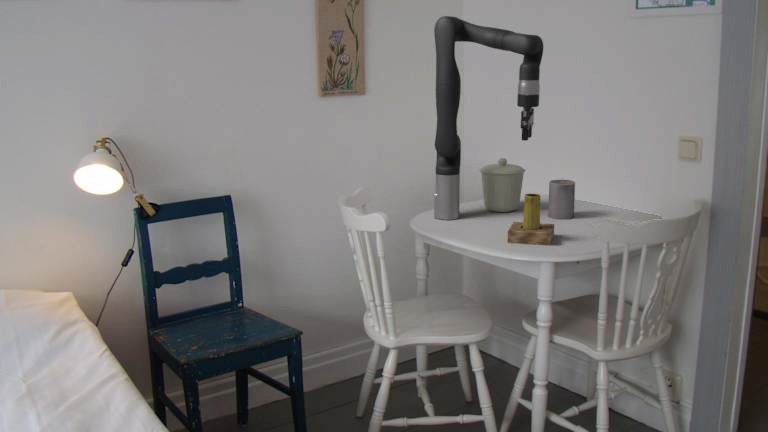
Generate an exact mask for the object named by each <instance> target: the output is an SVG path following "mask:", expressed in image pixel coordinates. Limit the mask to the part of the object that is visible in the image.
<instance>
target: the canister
mask: <svg viewBox="0 0 768 432" xmlns="http://www.w3.org/2000/svg"><path fill="white" fill-rule="evenodd" d="M479 172H480V173H481V182H482V183H481V184H482V194H483V204H484V207H485V208H486V209H487V210H488V211H490V212H491V211H492V212H493V213H494V212H496V213H509V212H510V213H511V212H514V211H516V210H517V209H518V207H520V206H519V205H520V200H521V194H522V187H523V179H524V174H525V172H526V169H525V168H523V167H522V166H520V165H518V164H510V163H508V160H507V158H505V157H500V158H498V160H497V163H493V164H492V163H491V164H486V165H483V167H481V168H479Z"/></svg>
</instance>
